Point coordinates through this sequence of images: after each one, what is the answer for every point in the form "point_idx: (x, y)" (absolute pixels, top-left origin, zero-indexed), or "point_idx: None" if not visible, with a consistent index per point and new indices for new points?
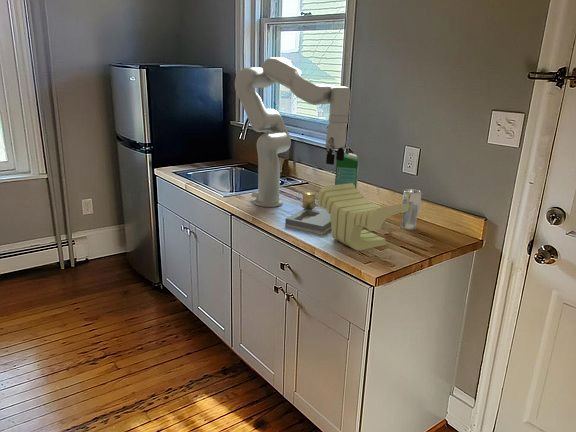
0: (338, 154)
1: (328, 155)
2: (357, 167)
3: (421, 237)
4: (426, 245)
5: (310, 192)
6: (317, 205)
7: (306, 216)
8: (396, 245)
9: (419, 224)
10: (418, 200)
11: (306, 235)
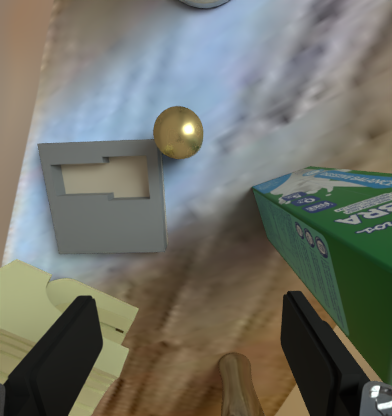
0: (305, 352)
1: (8, 388)
2: (357, 349)
3: (191, 394)
4: (155, 408)
5: (196, 128)
6: (12, 262)
7: (141, 158)
8: (120, 373)
9: (269, 375)
10: None
11: (41, 220)
